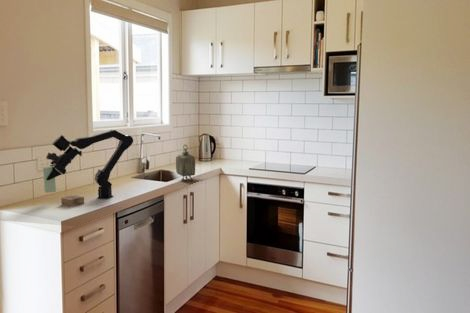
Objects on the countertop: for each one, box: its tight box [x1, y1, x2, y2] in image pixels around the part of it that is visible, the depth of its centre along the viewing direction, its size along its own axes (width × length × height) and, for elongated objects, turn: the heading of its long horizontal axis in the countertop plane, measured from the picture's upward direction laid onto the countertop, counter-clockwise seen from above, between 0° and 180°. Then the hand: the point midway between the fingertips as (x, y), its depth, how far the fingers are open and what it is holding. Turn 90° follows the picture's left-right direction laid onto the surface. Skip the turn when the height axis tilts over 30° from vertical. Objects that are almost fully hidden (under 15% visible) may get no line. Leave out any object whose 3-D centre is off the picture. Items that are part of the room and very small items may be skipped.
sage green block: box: [42, 165, 57, 194], centre depth 208 cm, size 5×5×13 cm
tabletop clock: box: [175, 144, 196, 182], centre depth 274 cm, size 14×9×25 cm, turn 28°
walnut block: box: [61, 194, 85, 208], centre depth 209 cm, size 8×8×4 cm
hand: (46, 179), depth 208 cm, fingers closed on sage green block, 5 cm apart
